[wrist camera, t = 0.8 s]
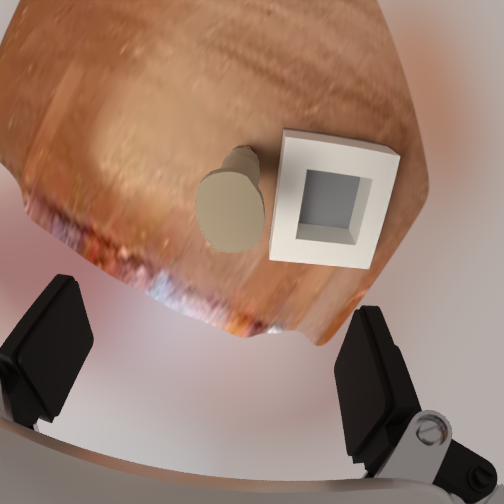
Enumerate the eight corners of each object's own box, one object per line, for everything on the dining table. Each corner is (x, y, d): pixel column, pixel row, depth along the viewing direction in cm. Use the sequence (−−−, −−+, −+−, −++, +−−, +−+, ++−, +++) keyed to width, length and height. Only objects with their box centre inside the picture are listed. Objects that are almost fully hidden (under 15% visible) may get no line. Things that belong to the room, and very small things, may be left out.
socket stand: (283, 127, 34) (285, 136, 29) (384, 144, 34) (400, 156, 29) (269, 237, 41) (269, 259, 37) (359, 247, 41) (368, 269, 37)
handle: (261, 128, 34) (258, 167, 21) (268, 182, 37) (268, 250, 24) (218, 134, 34) (187, 176, 21) (227, 186, 38) (205, 255, 25)
